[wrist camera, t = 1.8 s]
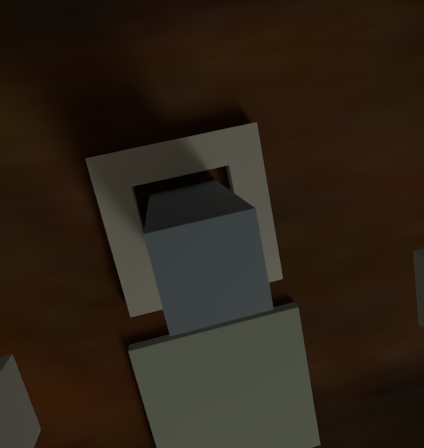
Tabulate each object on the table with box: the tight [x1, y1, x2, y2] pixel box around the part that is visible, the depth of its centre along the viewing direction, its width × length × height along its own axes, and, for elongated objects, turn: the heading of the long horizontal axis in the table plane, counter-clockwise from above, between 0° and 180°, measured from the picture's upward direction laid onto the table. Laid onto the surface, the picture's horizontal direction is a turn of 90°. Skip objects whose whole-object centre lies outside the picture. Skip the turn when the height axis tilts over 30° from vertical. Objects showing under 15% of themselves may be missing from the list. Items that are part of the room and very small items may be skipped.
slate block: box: [144, 180, 273, 336], centre depth 22 cm, size 5×5×12 cm
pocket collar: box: [85, 122, 283, 317], centre depth 27 cm, size 12×12×2 cm
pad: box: [128, 302, 320, 448], centre depth 32 cm, size 14×14×1 cm
